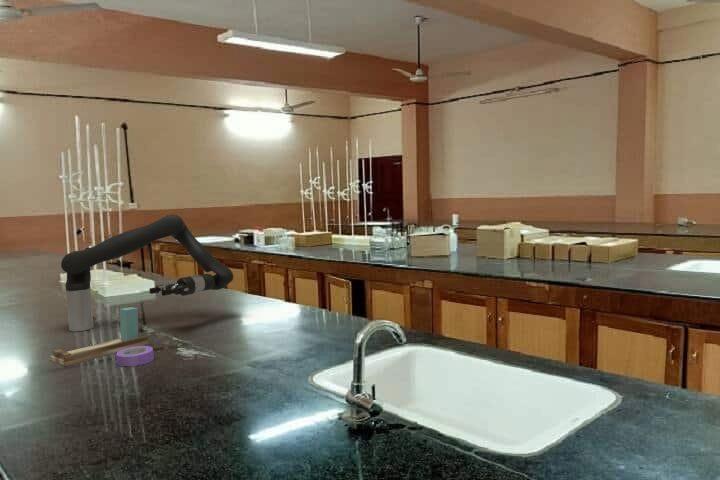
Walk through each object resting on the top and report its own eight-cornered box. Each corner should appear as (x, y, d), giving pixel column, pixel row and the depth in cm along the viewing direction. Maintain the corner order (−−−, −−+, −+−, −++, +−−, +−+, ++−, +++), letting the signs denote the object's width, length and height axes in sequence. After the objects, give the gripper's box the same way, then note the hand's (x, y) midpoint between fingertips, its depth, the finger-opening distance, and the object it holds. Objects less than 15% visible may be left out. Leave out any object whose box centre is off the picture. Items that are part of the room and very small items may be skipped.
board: (50, 360, 187) (49, 350, 187) (131, 339, 211) (130, 330, 211) (66, 366, 180) (65, 356, 180) (148, 343, 204) (147, 334, 203)
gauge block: (120, 340, 204) (119, 308, 203) (132, 337, 207) (131, 307, 206) (127, 342, 201) (126, 310, 200) (138, 339, 205) (137, 308, 204)
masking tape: (118, 369, 176) (117, 358, 175) (115, 359, 186) (115, 349, 186) (155, 363, 181) (155, 352, 181) (151, 354, 192) (151, 343, 191)
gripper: (180, 275, 229) (145, 281, 216) (200, 277, 220) (165, 284, 207) (181, 292, 230) (146, 299, 217) (202, 295, 221) (167, 303, 208)
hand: (155, 292), depth 212 cm, fingers open, 8 cm apart
